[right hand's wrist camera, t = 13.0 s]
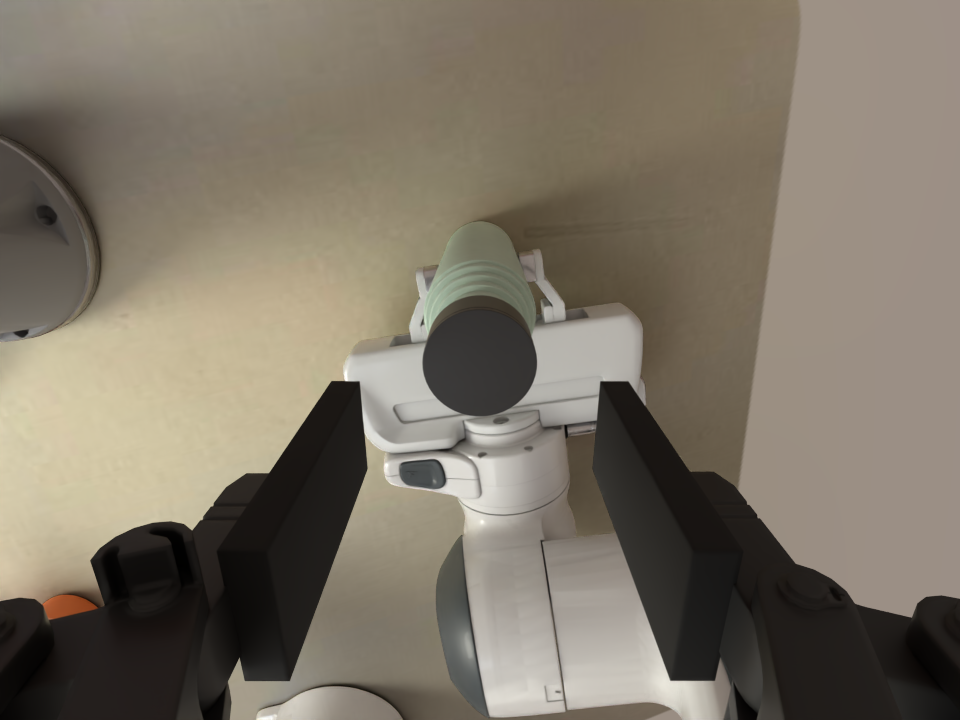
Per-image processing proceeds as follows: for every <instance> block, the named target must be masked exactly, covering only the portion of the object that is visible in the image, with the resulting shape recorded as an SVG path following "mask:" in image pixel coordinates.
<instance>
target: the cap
mask: <svg viewBox="0 0 960 720" xmlns="http://www.w3.org/2000/svg"><path fill="white" fill-rule="evenodd" d="M422 368H423V374H424V377H425V380H426V383H427V385H428V387H429V389H430V390H431V392H432V393H433V395H434V396H435V397H436V398H437V399H438V400H439V401H440V402H441V403H442V404H444V405H445V406H447V407H448V408H450V409H452V410H454V411H455V412H458V413H461V414H464V415H469V416H491V415H495V414H499V413H501V412H504V411H506V410H508V409H510V408H512V407H513V406H514V405H516V404H517V403H518V402H519V401H521V400H522V399H523V398H524V396H525V395H526V394H527V393H528V391H529V390H530V388H531V386H532V384H533V382H534V379H535V376H536V371H537V354H536V350H535V346H534V343H533V339H532V336H531V333H530V329H529V327H528V325H527V323H526V321H525V319H524V318H523V316H522V315H521V314H520V313H519V312H518V311H517V310H516V309H515V308H514V307H513V306H512V305H510V304H509V303H507V302H505V301H503V300H501V299H498V298H495V297H491V296H485V295H475V296H468V297H464V298H461V299H459V300H456V301H454V302H453V303H451V304H449V305H448V306H447V307H445V308H444V309H443V310H442V311H441V312H440V313H439V314H438V316H437V317H436V318H435V320H434V322H433V324H432V326H431V328H430V331H429V334H428V338H427V341H426V344H425V348H424V352H423V358H422Z"/></svg>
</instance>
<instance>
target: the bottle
mask: <svg viewBox="0 0 960 720" xmlns="http://www.w3.org/2000/svg"><path fill="white" fill-rule="evenodd" d="M475 295H485V296H491V297H495V298H498V299H501V300H503V301H505V302H507V303H509V304H510V305H512V306H513V307H514V308H515V309H516V310H517V311H518V312H519V313H520V314H521V315H522V316H523V318H524V319H525V321H526V323H527V325H528V327H529V329H530V333H531V336H532V333H533V330H534V327H535V322H536V305H535V301H534V297H533V295H532V292H531V290H530V287H529V285H528V282H527V279H526V277H525V274H524V272H523V269H522V267H521V264H520V262H519V259H518V257H517V254H516V252H515V249H514V246H513V244H512V241H511V240H510V238H509V236H508V235H507V234H506V233H505V231H504V230H502V229H501V228H500V227H498V226H497V225H495V224H492V223H489V222H484V221H476V222H471V223H468V224H466V225H464V226H462V227H460V228H459V229H458V230H456V232H455V233H454V234H453V235H452V236H451V238H450V240H449V241H448V244H447V246H446V249H445V251H444V254H443V256H442V259H441V261H440V264H439V266H438V269H437V271H436V274H435V276H434V279H433V281H432V284H431V286H430V289H429V291H428V294H427V297H426V300H425V304H424V323H425V328H426V331H427V334H429V331H430V328H431V326H432V324H433V322H434V320H435V318H436V317H437V316H438V314H439V313H440V312H441V311H442V310H443V309H444V308H445V307H447V306H448V305H449V304H451V303H453V302H454V301H456V300H459V299H461V298H464V297H468V296H475Z"/></svg>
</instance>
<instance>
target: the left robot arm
mask: <svg viewBox="0 0 960 720" xmlns="http://www.w3.org/2000/svg"><path fill="white" fill-rule="evenodd" d="M517 254H518V259H519V262H520V264H521V267H522V269H523V272H524V274H525V277H526V279H527V282H533V281H535V283H536V284H537V285H538V287H539V288H540V289H541V291H542V292H543V293H544V295H545V296H546V297H547V298H548V299H547V298H544V299H541V300H540V302H541V311H542V314H536V322H535V327H534V330H533V333H532V339H533V343H534V346H535V350H536V354H537V371H536V376H535V379H534V382H533V384H532V386H531V388H530V390H529V391H528V393H527V394H526V395H525V396H524V398H523V399H522V400H521V401H519V402H518V403H517V404H516V405H514V406H513V407H512V408H510V409H508V410H506V411H504V412H501V413H499V414H495V415H491V416H469V415H464V414H461V413H458V412H455V411H454V410H452V409H450V408H448V407H447V406H445V405H444V404H442V403H441V402H440V401H439V400H438V399H437V398H436V397H435V396H434V395H433V393H432V392H431V390H430V389H429V387H428V385H427V383H426V380H425V377H424V374H423V368H422V358H423V352H424V348H425V344H426V341H427V338H428V334H427V331H426V328H425V323H424V304H425V300H426V297H427V294H428V291H429V289H430V286H431V284H432V281H433V279H434V276H435V274H436V271H437V269H438V266H439V265H432V266H425V267H419V268H417V269H416V280H417V285H418V290H419V295H420V297H419V299H418V302H417V305H416V308H415V310H414V313H413V316H412V319H411V322H410V325H409V330H410V333H407V334H401V335H394V336H387V337H381V338H374V339H367V340H361V341H359V342H358V343H357V344H356V345H355V346H354V347H353V349H352V350H351V351H350V353H349V355H348V356H347V358H346V360H345V362H344V366H343V375H344V379H345V381H360V389H361V400H362V412H363V423H364V433H365V435H366V436H367V438H368V439H369V440H370V442H371V443H372V444H373V445H374V446H376V447H377V448H378V449H380V450H382V451H385V457H384V474H385V477H386V479H387V481H388V482H389V483H390V484H392V485H395V486H399V487H406V488H413V489H420V490H427V491H433V492H439V493H444V494H448V495H452V496H456V497H457V499H458V501H459V503H460V505H461V507H462V508H463V511H464V514H465V523H464V535H461V536H460V537H459V538H458V540H457V541H456V542H455V544H454V545H453V547H452V548H451V550H450V552H449V554H448V555H447V557H446V559H445V561H444V563H443V564H442V566H441V569H440V571H439V575H438V579H437V586H436V611H437V619H438V625H439V631H440V636H441V641H442V646H443V650H444V654H445V659H446V663H447V667H448V671H449V675H450V679H451V681H452V682H453V683H454V685H455V686H456V687H457V689H458V690H459V691H460V693H461V694H462V695H463V696H464V698H465V699H466V700H467V701H468V702H469V703H470V704H471V705H472V706H473V707H474V708H475V709H476V710H477V711H478V712H480V713H481V714H482V715H484V716H486V717H487V718H490V717H517V716H530V715H540V714H550V713H560V712H565V704H564V697H565V703H566V709H567V710H573V709H583V708H593V707H603V706H613V705H622V704H632V703H642V702H652V703H658V704H662V705H665V706H667V707H669V708H671V709H673V710H674V711H676V712H677V713H678V714H679V715H680V717H681V719H682V720H723V719H724V715H725V710H726V706H727V702H728V698H729V694H730V689H731V685H732V681H733V679H732V677H731V675H730V673H729V671H728V669H727V667H726V665H725V663H724V661H723V659H722V657H721V656H720V661H719V665H718V670H717V674H716V679H715V681H670V679H669V676H668V673H667V671H666V668H665V665H664V662H663V660H662V657H661V654H660V651H659V649H658V646H657V643H656V641H655V638H654V635H653V632H652V630H651V627H650V624H649V622H648V619H647V616H646V613H645V611H644V608H643V605H642V602H641V600H640V597H639V594H638V592H637V589H636V586H635V583H634V581H633V578H632V575H631V572H630V570H629V567H628V564H627V562H626V559H625V556H624V553H623V551H622V548H621V545H620V542H619V540H618V537H617V534H616V533H608V534H599V535H591V536H583V537H576V527H575V520H574V516H573V513H572V510H571V508H570V506H569V504H568V501H567V495H568V491H569V486H570V473H569V464H568V455H567V445H566V439H567V437H573V436H580V435H587V434H591V433H595V432H596V423H597V412H598V400H599V389H600V381H629V383H630V384H631V386H632V387H633V389H634V390H635V392H636V393H637V395H638V396H639V398H640V399H641V400H642V402H643V403H644V405H645V406H646V388H645V382H644V380H643V378H642V377H641V366H642V354H643V327H642V323H641V321H640V320H639V318H638V317H637V316H636V315H635V314H634V313H633V312H632V311H631V310H630V309H629V308H627V307H626V306H624V305H623V304H621V303H609V304H602V305H596V306H589V307H582V308H575V309H569V310H565V303H564V302H563V300H562V298H561V297H560V295H559V294H558V292H557V291H556V290H555V288H554V287H553V286H552V285H551V283H550V282H549V281H548V279H547V278H546V277H545V275H544V269H543V260H542V254H541V251H540V249H535V250H528V251H522V252H517ZM555 637H556V641H555ZM556 644H557V648H556ZM557 651H558V655H557ZM558 657H559V662H558ZM559 664H560V669H559ZM560 671H561V676H560ZM561 677H562V683H561ZM562 684H563V690H564V697H563V690H562ZM256 720H403V719H402V717H401V715H400V714H399V713H398V711H397V710H396V709H395V708H394V707H393V706H392V705H390V704H389V703H388V702H386V701H385V700H383V699H382V698H380V697H378V696H376V695H374V694H372V693H369V692H366V691H363V690H360V689H356V688H350V687H341V686H329V687H320V688H315V689H311V690H308V691H305V692H303V693H301V694H298V695H297V696H295V697H293V698H292V699H290V700H289V701H287V702H286V703H284V704H282V705H277V706H273V707H268V708H265V709H262V710H260V711H259V712H258V714H257V717H256Z"/></svg>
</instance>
